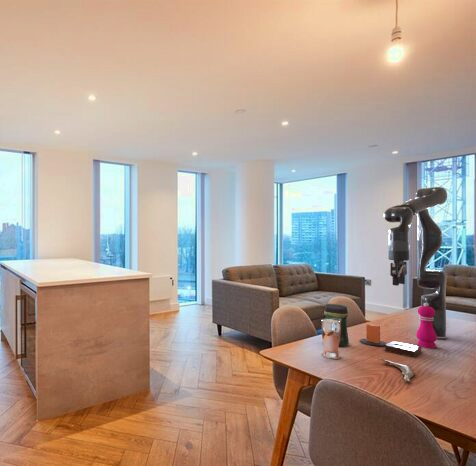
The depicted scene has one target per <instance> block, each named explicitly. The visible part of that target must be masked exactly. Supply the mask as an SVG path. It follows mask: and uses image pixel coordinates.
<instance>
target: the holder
mask: <svg viewBox="0 0 476 466" xmlns="http://www.w3.org/2000/svg"><path fill="white" fill-rule="evenodd" d="M386 344H387V345H385V346H384V347H385V348H384V350H385V352H389V353H393V354H398V355H403V356H406V357H411V358H415V357H417V356H418V355H420V354H422V346H419V345H415V344H410V343H405V342H401V341H400V342H399V341H395V340H392V341H390V342H388V343H386Z"/></svg>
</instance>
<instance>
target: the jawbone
mask: <svg viewBox="0 0 476 466" xmlns="http://www.w3.org/2000/svg"><path fill="white" fill-rule="evenodd" d="M376 359H378V360H380V361H384V364H385V365H389V364H390V365H392V366H394V367H396V368H398V369H399V370H400V371H401V375H404V377H403V379H404V381H405V382H406V383H409V384H410V383H411V380H410V379H411V378H412V377H414V374H415V373H414V372H413V370H412V369H411V368H410V365H408V364H404V363H399V362H393V361H390V360H388V359H387V358H386V359H384V358H380V357H376Z"/></svg>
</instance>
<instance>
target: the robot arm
mask: <svg viewBox="0 0 476 466" xmlns="http://www.w3.org/2000/svg"><path fill="white" fill-rule="evenodd" d="M447 200H448V191H447V189H446V188H444V187H442V186H434V187H422V188H419V189H417V191H416V192H415V198H413V199H409V200H407V201H405V202H404V203H401V204H397V205H394V206H389V207H388V208H387V209H386V210H385V211H384V213H383V218H384V220H385V221H386V222H388V223H393V224H394V223H399V225H398V226H395V227H394V226H393V227H390V228H389V230H388V244H387V246H388V252H387V253H388V256H387V257H388V259H387V260H389V261H393V262H390V271H389V272H390V274H389V275H390V276H391V278H392V286H396V287H398V286H399V285H405V284H406V276H407V274H408V270H407V264H408V262H407V261H409V260H410V243H409V230H410V227H411V224H412V221H413V219H414V216H415V215H416V216H417V274H416V283H417V286H418V288H421V289H429V290H436V291H435V292H433V293H428V294H422V295H421V297H420V307H421V306H424V303H428V304H429V307H432V308H433V309H434V310H435V315H434V316H433V318H434V319H433V320H434V321H432V326H433V329H434V331H435V333H436V335H437V340H446V339H447V297H446V296H447V295H446V293H447V273H446V272H445V271H443V270H431V269H428V270H427V266H428V264H429V262H430V261H431V259H432V258H433V256H435V254H437V253H438V251H439V250H440V249H441V247H442V245H443V231H442V229H441V228H440V226H439V225H438V224H437V223H436V222H435V221H434V219H433V218H432V216H431V215H430V212H429V209H430V208H433V207H436V206H440V205H444V204H445V203H446V201H447Z"/></svg>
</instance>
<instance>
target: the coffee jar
mask: <svg viewBox="0 0 476 466" xmlns="http://www.w3.org/2000/svg"><path fill="white" fill-rule="evenodd" d="M323 313H324V316H325V319H333V320H337V321H340V327H341V337H340V342H339V347H347V346H349V344H350V342H349V341H350V340H349V333H348V322H347V321H348V320H347V319H348V318H349V317H348V316H349V310H348V306H347V305H344V304H338V303H326V304H325V305H324V309H323Z"/></svg>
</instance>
